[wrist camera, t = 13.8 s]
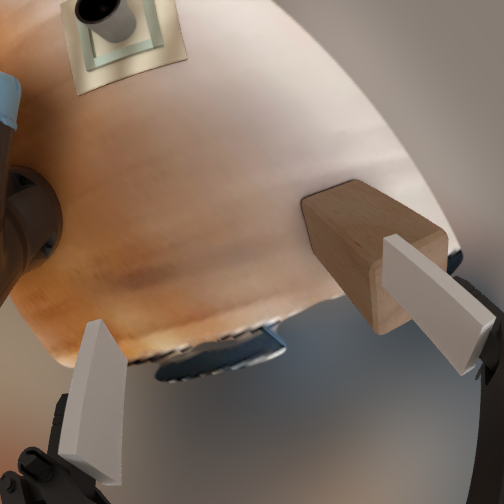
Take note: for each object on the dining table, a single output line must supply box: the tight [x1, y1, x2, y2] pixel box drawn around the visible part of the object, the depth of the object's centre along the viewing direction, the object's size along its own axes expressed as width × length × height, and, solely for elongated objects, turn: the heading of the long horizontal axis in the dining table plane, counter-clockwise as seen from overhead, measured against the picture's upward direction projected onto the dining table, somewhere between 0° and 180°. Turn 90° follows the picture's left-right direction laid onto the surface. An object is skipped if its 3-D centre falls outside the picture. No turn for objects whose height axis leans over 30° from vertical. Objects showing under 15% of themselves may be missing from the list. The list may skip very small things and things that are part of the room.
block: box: [302, 180, 448, 335], centre depth 37 cm, size 10×10×20 cm
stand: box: [60, 0, 187, 96], centre depth 26 cm, size 14×14×2 cm
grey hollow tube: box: [75, 0, 136, 43], centre depth 22 cm, size 4×4×10 cm
